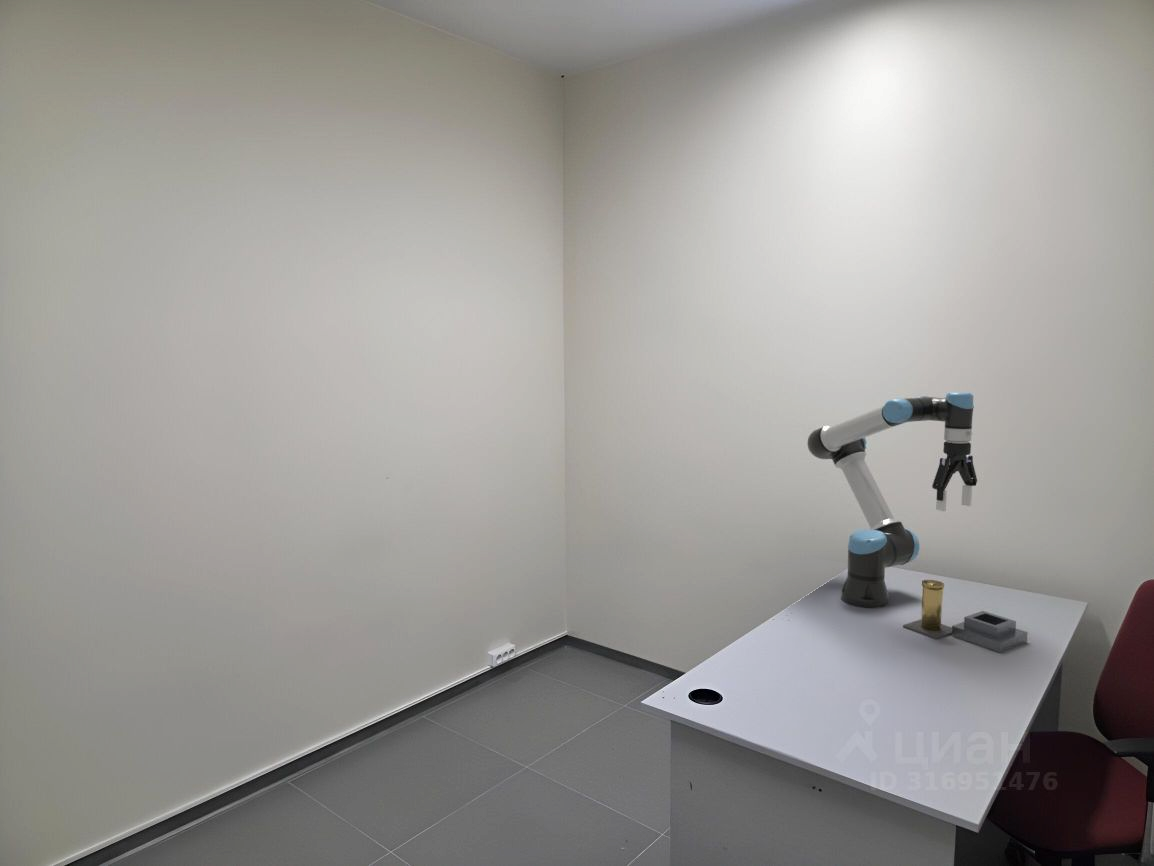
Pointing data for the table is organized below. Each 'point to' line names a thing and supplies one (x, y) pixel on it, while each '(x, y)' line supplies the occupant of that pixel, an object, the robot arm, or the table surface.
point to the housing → (990, 631)
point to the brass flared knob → (932, 605)
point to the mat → (933, 634)
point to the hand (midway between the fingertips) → (953, 508)
